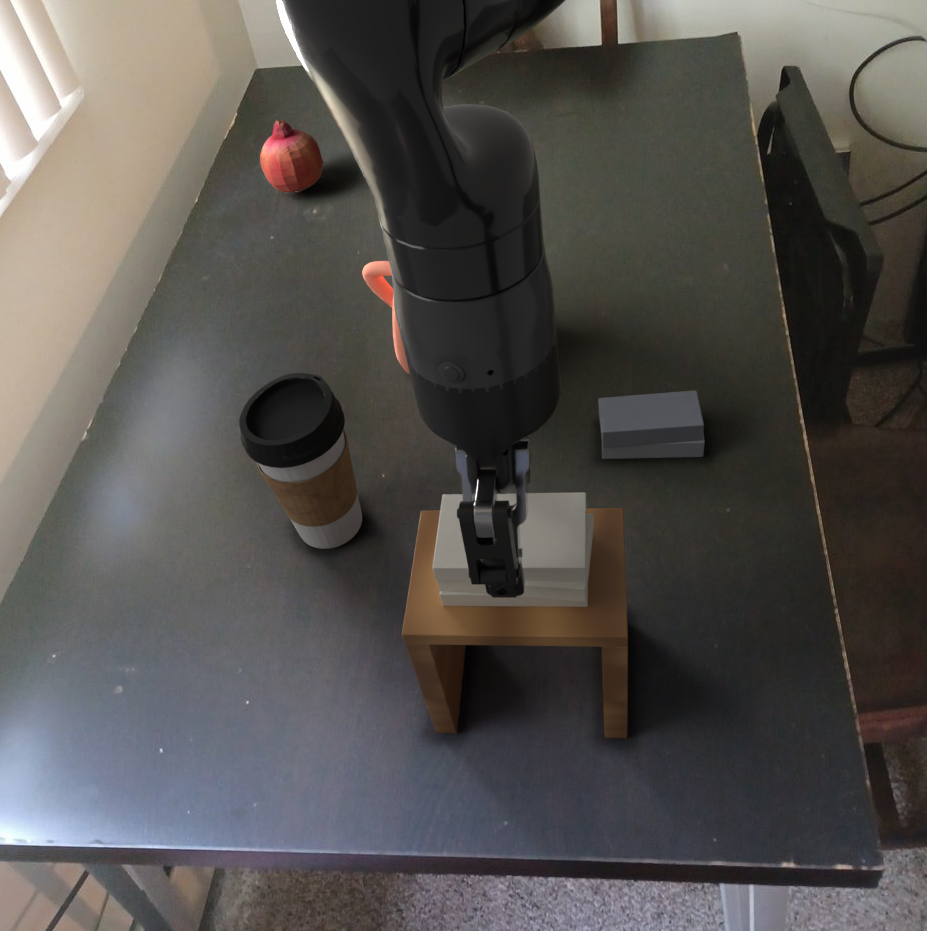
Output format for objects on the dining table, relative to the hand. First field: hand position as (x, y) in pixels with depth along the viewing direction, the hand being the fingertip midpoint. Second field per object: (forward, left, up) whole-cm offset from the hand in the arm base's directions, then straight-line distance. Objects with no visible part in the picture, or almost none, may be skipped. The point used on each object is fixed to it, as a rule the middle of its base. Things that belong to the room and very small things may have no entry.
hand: (510, 533), depth 56 cm
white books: (0, 0, -4) cm, 4 cm away
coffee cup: (+23, +7, -18) cm, 30 cm away
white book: (0, 0, -1) cm, 1 cm away
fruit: (+78, -13, -18) cm, 81 cm away
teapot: (+35, -14, -18) cm, 42 cm away
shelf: (0, 0, -18) cm, 18 cm away
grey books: (+14, -22, -18) cm, 32 cm away
